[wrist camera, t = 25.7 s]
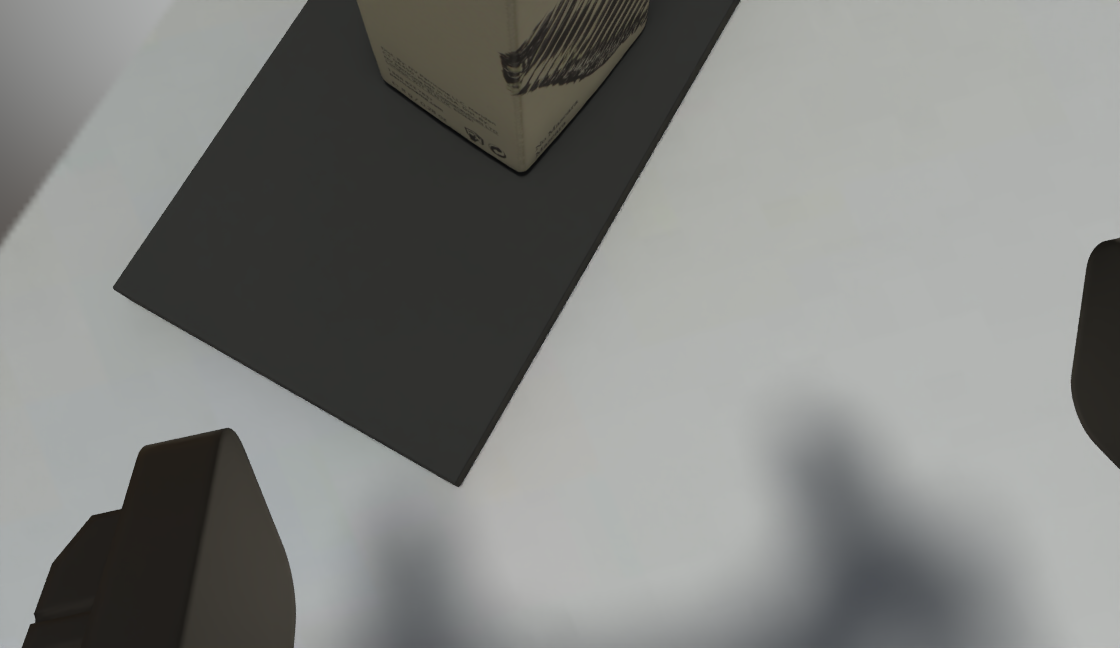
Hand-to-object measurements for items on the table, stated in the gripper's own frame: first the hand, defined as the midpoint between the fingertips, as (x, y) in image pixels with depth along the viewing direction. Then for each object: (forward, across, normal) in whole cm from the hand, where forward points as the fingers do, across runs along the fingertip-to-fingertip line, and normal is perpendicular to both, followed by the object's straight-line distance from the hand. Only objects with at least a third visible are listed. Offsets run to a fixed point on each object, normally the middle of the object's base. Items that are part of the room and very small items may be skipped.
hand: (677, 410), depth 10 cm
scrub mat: (+18, 0, +2) cm, 18 cm away
